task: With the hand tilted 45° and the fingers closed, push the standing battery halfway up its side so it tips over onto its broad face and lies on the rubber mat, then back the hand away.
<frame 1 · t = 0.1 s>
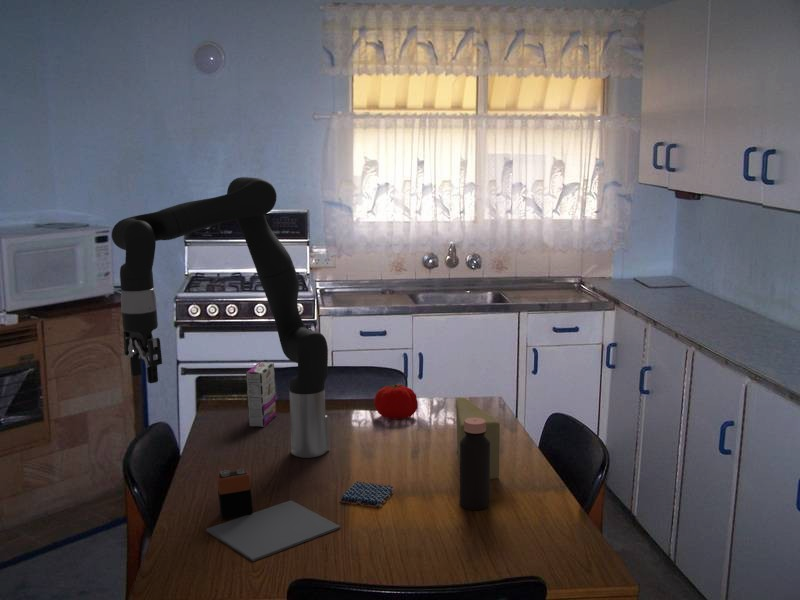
hand: (144, 378, 205), 29 cm above the table, tool pointing down, fingers open, 8 cm apart
rubber mat: (273, 529, 194), on the table
bottle: (474, 505, 206), on the table
woven mat: (367, 499, 211), on the table
candy bar box: (262, 421, 265), on the table
cheese: (469, 465, 230), on the table
tomato: (396, 417, 267), on the table
battery: (236, 514, 201), on the table, touching rubber mat
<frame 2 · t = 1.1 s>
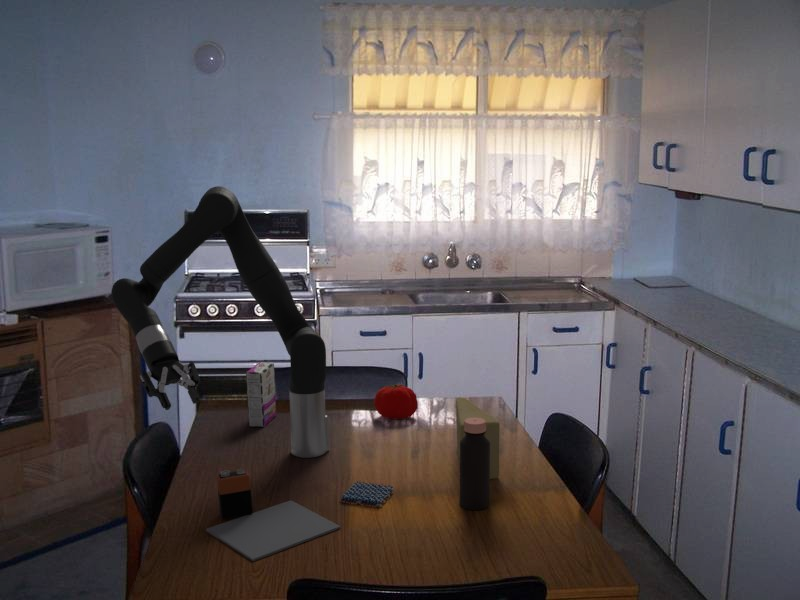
hand: (182, 404, 214), 20 cm above the table, tool tilted 45°, fingers open, 6 cm apart
nothing on the table moved.
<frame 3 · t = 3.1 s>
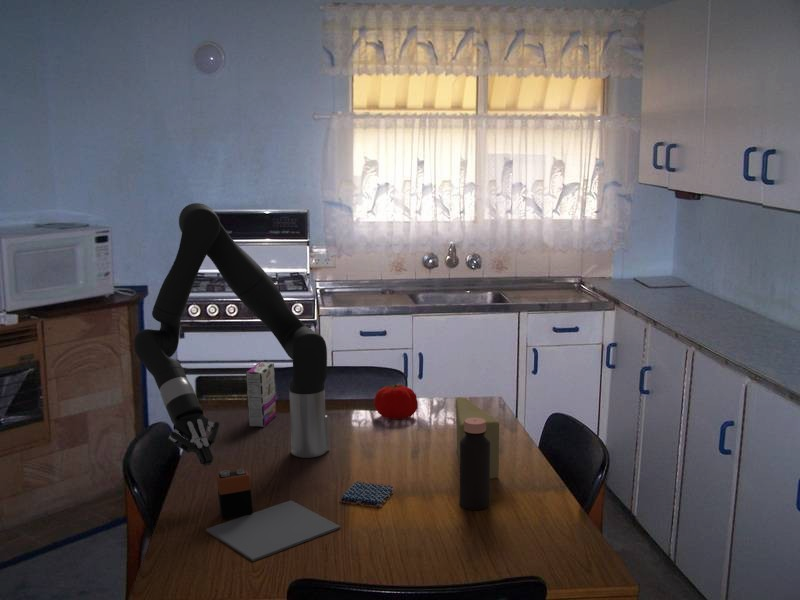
hand: (208, 463, 207), 9 cm above the table, tool tilted 45°, fingers closed
nothing on the table moved.
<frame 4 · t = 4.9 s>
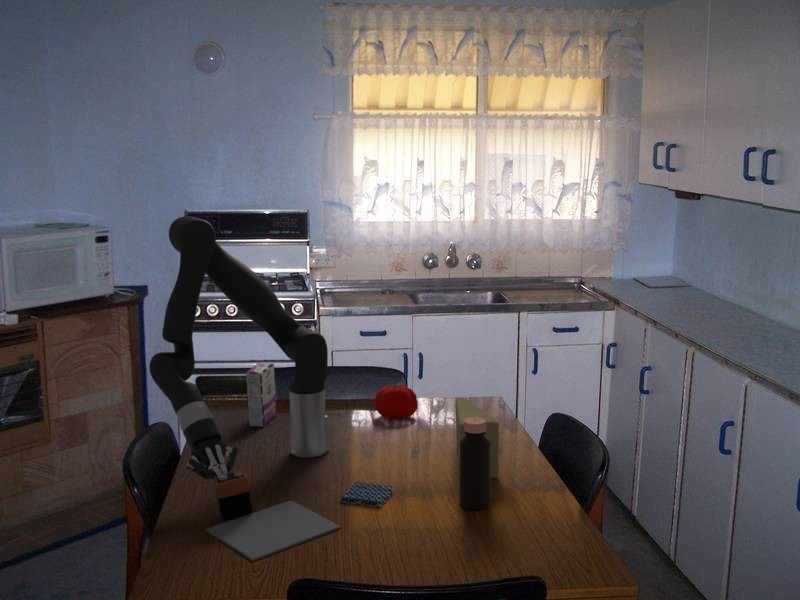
hand: (227, 491, 202), 5 cm above the table, tool tilted 45°, fingers closed
battery: (236, 513, 201), on the table, touching gripper, rubber mat
everything else where it was.
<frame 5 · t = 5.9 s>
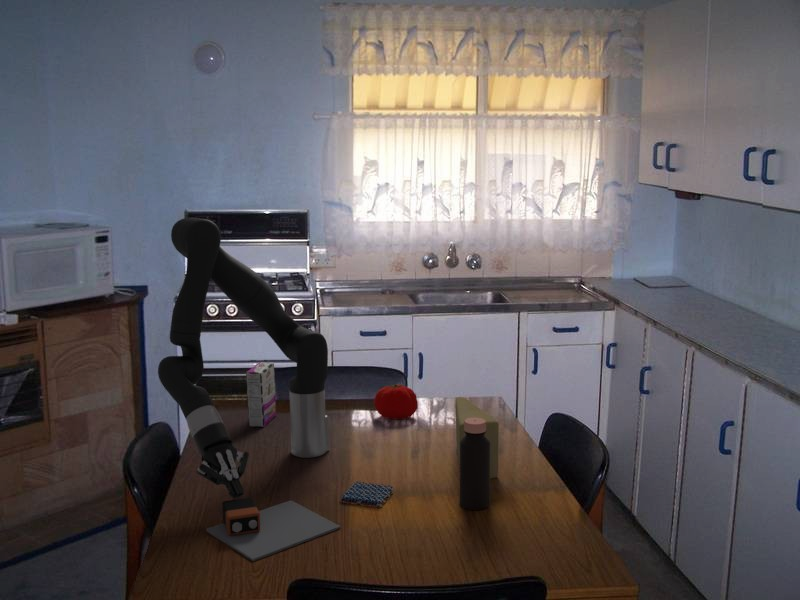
hand: (238, 496, 199), 5 cm above the table, tool tilted 45°, fingers closed
battery: (237, 507, 199), point 3 cm above the table, touching rubber mat
everything else where it was.
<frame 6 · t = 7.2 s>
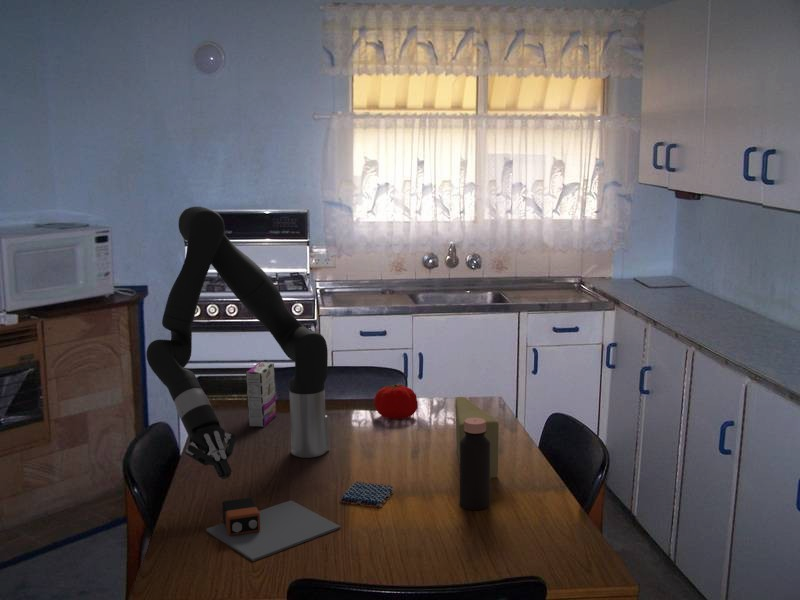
hand: (226, 476, 203), 8 cm above the table, tool tilted 45°, fingers closed
nothing on the table moved.
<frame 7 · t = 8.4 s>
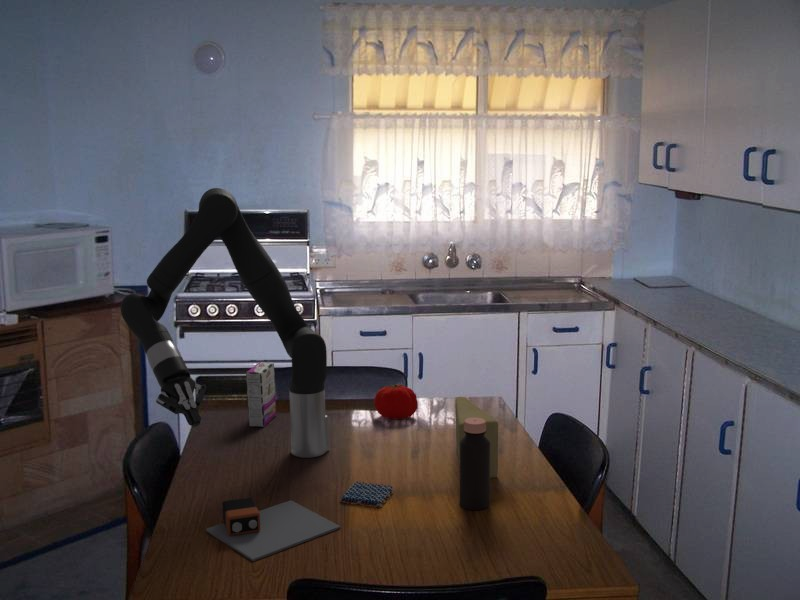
hand: (196, 424, 210), 17 cm above the table, tool tilted 45°, fingers closed
nothing on the table moved.
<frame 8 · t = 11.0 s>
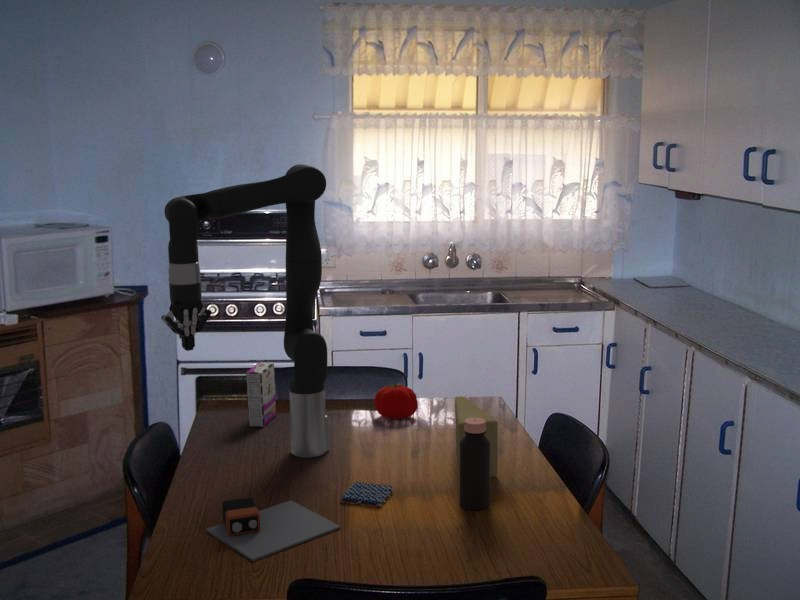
hand: (188, 349, 223), 31 cm above the table, tool pointing down, fingers closed
at the end: battery tilted 90°; battery touching rubber mat; battery inside the target area (2.2 cm from its centre), point 2.7 cm above the table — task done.
